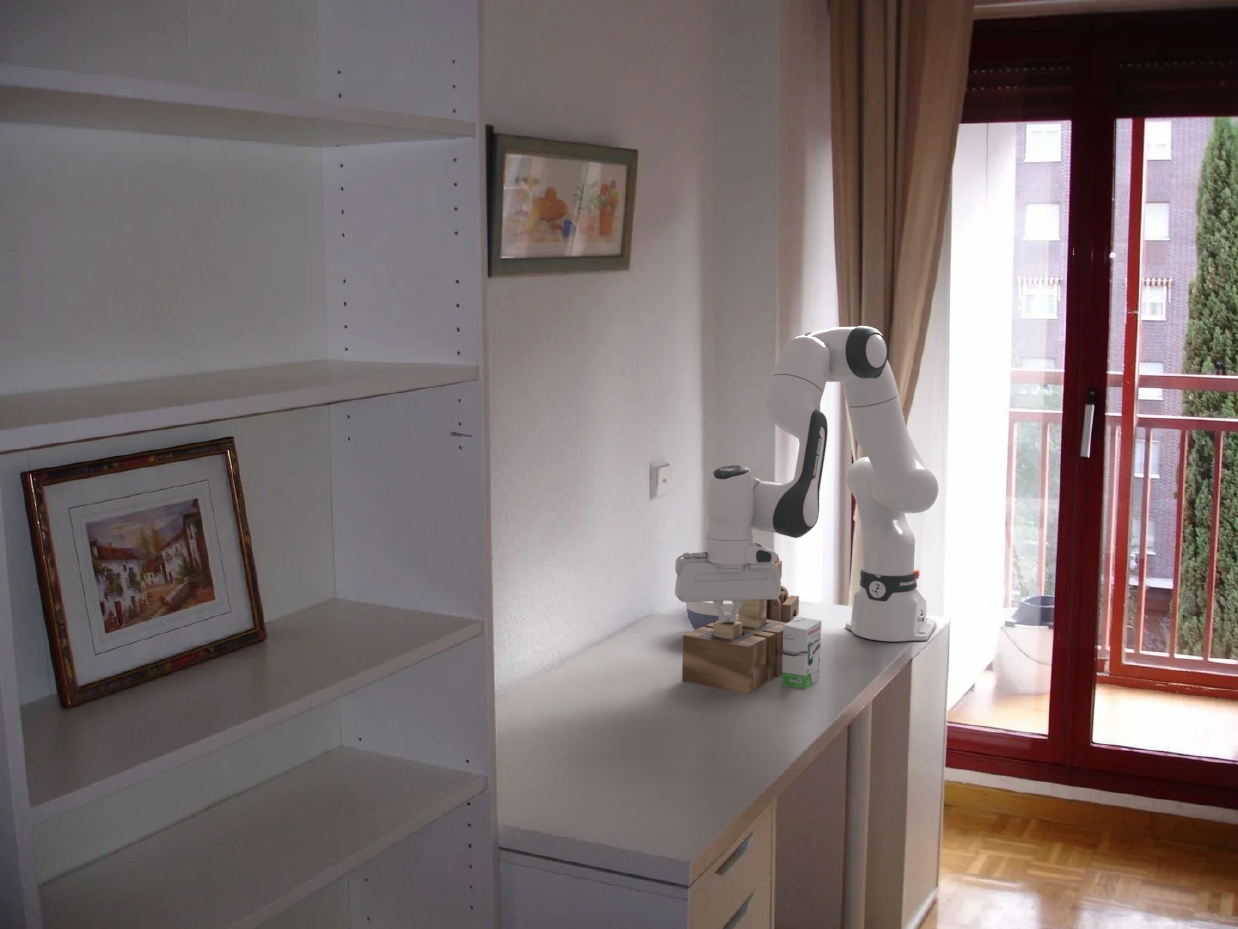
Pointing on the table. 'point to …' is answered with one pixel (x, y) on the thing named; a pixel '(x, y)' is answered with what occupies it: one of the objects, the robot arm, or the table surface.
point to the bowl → (705, 612)
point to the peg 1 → (728, 630)
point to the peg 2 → (753, 613)
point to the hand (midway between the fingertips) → (727, 622)
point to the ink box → (801, 652)
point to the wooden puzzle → (782, 603)
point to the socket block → (733, 657)
